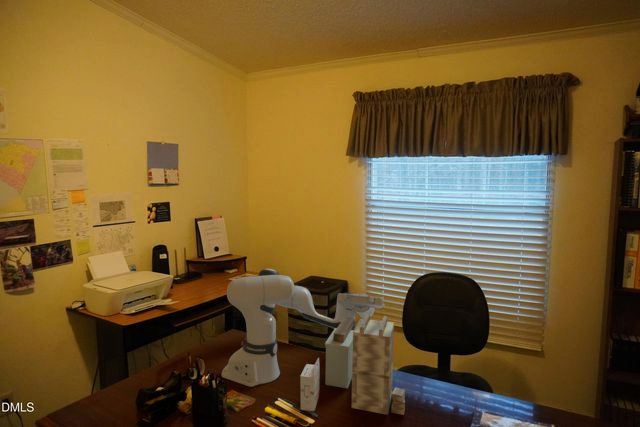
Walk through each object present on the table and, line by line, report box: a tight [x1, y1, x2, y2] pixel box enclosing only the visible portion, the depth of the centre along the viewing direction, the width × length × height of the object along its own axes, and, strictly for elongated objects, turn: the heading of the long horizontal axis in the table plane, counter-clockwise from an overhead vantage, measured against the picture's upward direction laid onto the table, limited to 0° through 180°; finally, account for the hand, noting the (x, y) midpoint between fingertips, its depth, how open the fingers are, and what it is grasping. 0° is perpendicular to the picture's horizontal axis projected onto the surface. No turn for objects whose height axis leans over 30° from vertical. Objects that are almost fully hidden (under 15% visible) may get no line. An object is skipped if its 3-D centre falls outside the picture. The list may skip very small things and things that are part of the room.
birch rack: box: [351, 314, 395, 416], centre depth 125 cm, size 12×13×28 cm
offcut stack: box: [391, 387, 406, 416], centre depth 120 cm, size 4×5×6 cm
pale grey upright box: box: [324, 328, 355, 389], centre depth 140 cm, size 9×15×16 cm, turn 163°
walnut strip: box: [333, 317, 354, 343], centre depth 143 cm, size 4×18×3 cm, turn 163°
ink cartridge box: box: [299, 357, 321, 412], centre depth 123 cm, size 9×5×15 cm, turn 168°
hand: (357, 296), depth 155 cm, fingers open, 8 cm apart
